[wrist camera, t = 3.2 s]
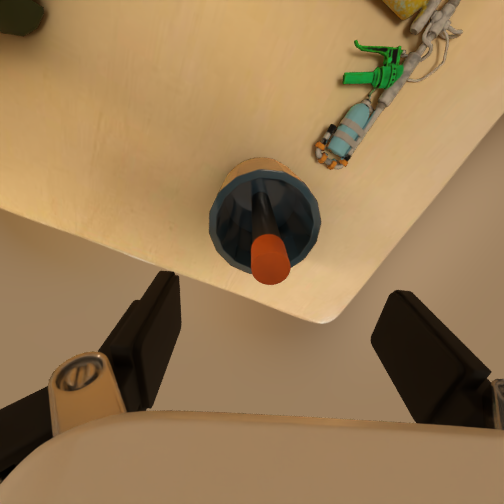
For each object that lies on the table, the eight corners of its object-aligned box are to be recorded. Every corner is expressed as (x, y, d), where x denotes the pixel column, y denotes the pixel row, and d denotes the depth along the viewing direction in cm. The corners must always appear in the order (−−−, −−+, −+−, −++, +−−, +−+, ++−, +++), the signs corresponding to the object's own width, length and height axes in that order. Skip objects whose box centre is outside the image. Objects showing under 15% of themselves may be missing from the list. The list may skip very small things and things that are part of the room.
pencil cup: (219, 231, 29) (208, 270, 21) (222, 153, 25) (209, 163, 17) (291, 237, 29) (308, 278, 21) (306, 161, 25) (332, 176, 17)
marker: (249, 209, 27) (249, 283, 14) (251, 189, 26) (253, 249, 13) (269, 211, 27) (287, 286, 14) (271, 191, 26) (293, 253, 13)
